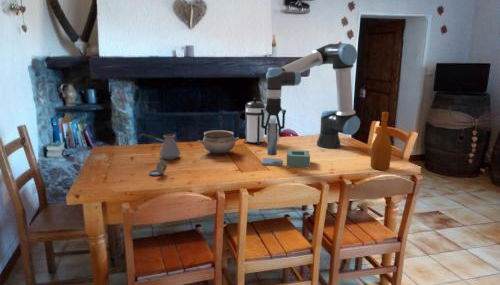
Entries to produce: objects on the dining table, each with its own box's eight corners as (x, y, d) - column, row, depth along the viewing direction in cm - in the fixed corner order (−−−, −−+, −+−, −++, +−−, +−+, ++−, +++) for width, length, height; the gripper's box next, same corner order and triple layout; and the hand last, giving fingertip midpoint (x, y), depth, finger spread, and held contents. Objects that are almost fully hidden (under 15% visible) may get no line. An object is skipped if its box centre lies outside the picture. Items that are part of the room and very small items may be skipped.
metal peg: (276, 153, 200) (277, 122, 196) (276, 155, 195) (277, 124, 191) (267, 152, 200) (268, 122, 196) (267, 155, 196) (268, 124, 192)
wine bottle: (390, 171, 187) (397, 113, 180) (370, 170, 189) (376, 112, 182) (387, 165, 196) (393, 110, 189) (368, 164, 198) (374, 109, 191)
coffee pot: (178, 154, 213) (177, 129, 209) (182, 159, 202) (181, 133, 199) (140, 157, 206) (139, 131, 202) (142, 162, 195) (140, 135, 192)
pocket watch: (150, 171, 181) (149, 152, 179) (167, 171, 182) (167, 152, 179) (147, 177, 173) (146, 157, 171) (165, 177, 174) (164, 156, 171)
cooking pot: (201, 159, 203) (201, 138, 200) (194, 151, 220) (194, 131, 217) (244, 155, 211) (244, 135, 208) (234, 148, 229) (234, 129, 226)
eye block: (308, 161, 203) (308, 150, 201) (309, 167, 191) (310, 156, 190) (286, 160, 204) (287, 149, 203) (286, 166, 192) (286, 155, 191)
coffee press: (260, 139, 253) (261, 96, 246) (268, 144, 238) (270, 98, 231) (236, 140, 248) (236, 96, 241) (243, 146, 233) (244, 99, 226)
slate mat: (281, 160, 203) (281, 158, 203) (280, 165, 194) (280, 164, 193) (263, 159, 204) (263, 158, 204) (262, 164, 195) (262, 163, 194)
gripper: (256, 98, 188) (255, 141, 193) (291, 99, 186) (289, 143, 192) (257, 96, 195) (256, 138, 201) (291, 97, 193) (289, 140, 199)
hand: (272, 140), depth 196 cm, fingers closed on metal peg, 5 cm apart
